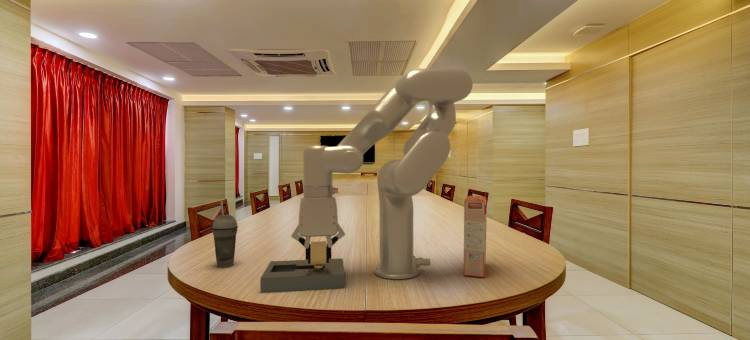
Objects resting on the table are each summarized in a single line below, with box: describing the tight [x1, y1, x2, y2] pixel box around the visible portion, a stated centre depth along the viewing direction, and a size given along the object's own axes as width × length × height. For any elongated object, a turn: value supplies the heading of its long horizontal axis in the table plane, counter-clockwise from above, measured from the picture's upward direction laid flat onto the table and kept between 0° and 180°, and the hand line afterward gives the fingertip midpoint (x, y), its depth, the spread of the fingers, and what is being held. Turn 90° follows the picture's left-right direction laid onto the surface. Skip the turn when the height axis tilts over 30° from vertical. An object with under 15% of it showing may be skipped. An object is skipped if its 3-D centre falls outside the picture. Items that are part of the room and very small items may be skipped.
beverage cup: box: [211, 199, 239, 269], centre depth 101 cm, size 7×7×20 cm
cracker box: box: [463, 195, 487, 279], centre depth 96 cm, size 14×6×21 cm, turn 161°
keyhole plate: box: [259, 258, 346, 293], centre depth 88 cm, size 20×14×4 cm
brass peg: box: [310, 240, 327, 269], centre depth 88 cm, size 4×4×10 cm
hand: (318, 261), depth 88 cm, fingers closed on brass peg, 4 cm apart
